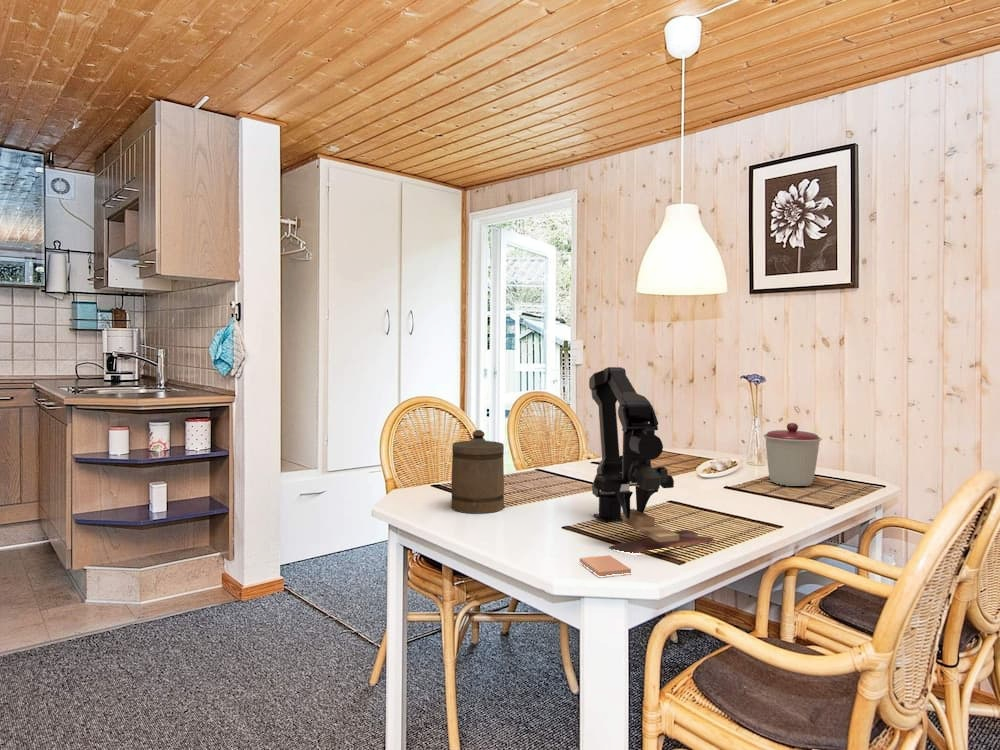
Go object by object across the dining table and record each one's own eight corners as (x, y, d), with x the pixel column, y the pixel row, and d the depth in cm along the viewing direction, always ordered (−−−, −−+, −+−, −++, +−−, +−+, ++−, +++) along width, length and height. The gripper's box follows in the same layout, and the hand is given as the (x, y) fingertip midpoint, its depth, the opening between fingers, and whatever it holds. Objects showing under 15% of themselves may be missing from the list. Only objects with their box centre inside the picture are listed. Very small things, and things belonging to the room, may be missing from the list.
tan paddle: (619, 522, 155) (619, 510, 155) (637, 520, 157) (637, 508, 157) (659, 542, 139) (659, 528, 139) (679, 540, 141) (679, 526, 141)
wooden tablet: (632, 554, 139) (603, 537, 148) (631, 564, 140) (602, 546, 148) (718, 538, 152) (686, 523, 161) (717, 547, 153) (685, 532, 161)
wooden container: (483, 499, 194) (484, 426, 193) (514, 509, 182) (515, 431, 181) (441, 505, 185) (442, 429, 184) (470, 516, 173) (471, 435, 172)
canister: (754, 478, 230) (756, 419, 229) (806, 479, 229) (807, 420, 228) (774, 489, 212) (775, 425, 211) (830, 490, 211) (832, 426, 210)
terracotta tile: (579, 558, 136) (599, 572, 127) (609, 555, 138) (630, 569, 129) (579, 565, 136) (599, 580, 127) (609, 562, 138) (630, 576, 129)
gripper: (617, 460, 142) (616, 530, 143) (688, 456, 149) (687, 523, 149) (593, 452, 153) (592, 517, 153) (661, 449, 159) (659, 511, 160)
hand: (633, 517), depth 154 cm, fingers closed on tan paddle, 3 cm apart
